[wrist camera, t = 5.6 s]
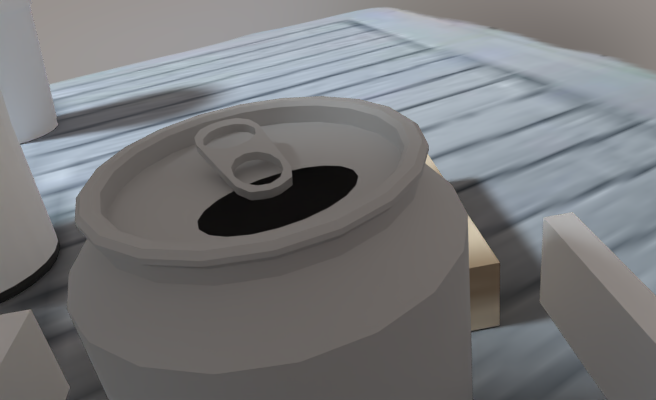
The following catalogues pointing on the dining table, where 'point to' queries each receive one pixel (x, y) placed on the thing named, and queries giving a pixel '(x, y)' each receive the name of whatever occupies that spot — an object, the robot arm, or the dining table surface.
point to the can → (275, 260)
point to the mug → (21, 218)
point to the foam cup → (24, 73)
